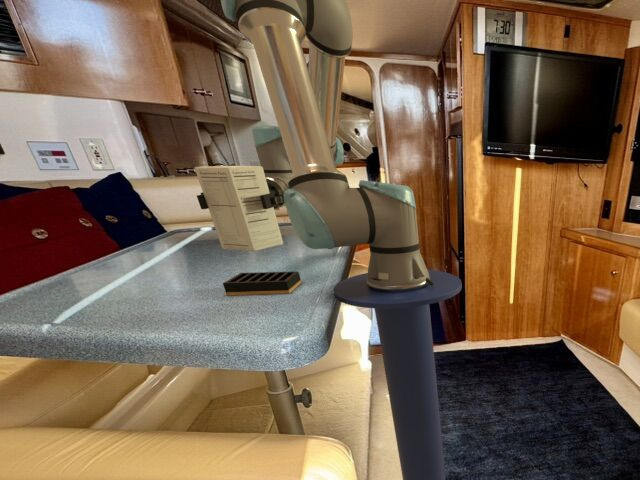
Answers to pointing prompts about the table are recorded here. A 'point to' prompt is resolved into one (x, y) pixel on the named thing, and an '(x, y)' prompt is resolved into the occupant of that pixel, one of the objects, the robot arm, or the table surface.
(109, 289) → the table surface
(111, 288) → the table surface
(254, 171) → the supplement box
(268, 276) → the dish rack
